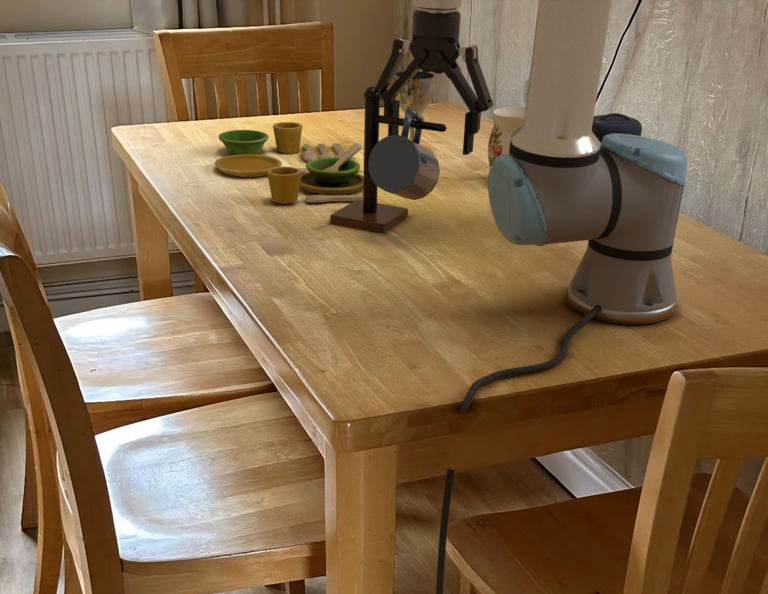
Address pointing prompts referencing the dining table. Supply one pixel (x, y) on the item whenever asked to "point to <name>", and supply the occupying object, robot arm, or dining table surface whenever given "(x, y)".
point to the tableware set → (285, 181)
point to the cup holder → (369, 210)
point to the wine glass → (416, 94)
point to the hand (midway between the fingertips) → (429, 147)
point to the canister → (615, 125)
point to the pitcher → (504, 130)
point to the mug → (404, 163)
